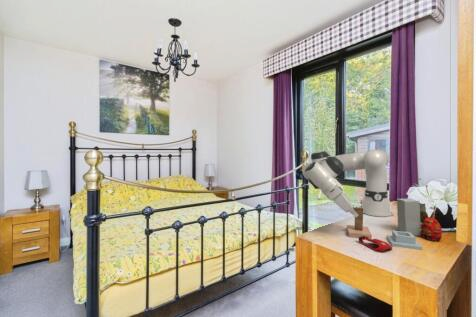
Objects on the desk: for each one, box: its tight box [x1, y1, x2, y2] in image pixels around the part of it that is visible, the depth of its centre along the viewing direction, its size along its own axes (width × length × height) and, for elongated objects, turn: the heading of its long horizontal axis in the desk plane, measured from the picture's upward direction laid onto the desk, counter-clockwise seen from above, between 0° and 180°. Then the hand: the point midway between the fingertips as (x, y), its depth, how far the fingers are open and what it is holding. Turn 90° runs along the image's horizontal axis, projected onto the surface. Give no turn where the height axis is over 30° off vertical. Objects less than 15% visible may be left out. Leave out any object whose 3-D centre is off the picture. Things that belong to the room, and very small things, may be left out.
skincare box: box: [396, 198, 422, 237], centre depth 113 cm, size 8×7×16 cm
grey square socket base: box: [386, 229, 423, 251], centre depth 100 cm, size 10×10×4 cm
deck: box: [346, 224, 373, 239], centre depth 111 cm, size 12×9×2 cm
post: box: [354, 206, 364, 231], centre depth 111 cm, size 3×3×10 cm
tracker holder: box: [356, 235, 393, 253], centre depth 96 cm, size 12×4×10 cm
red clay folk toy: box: [420, 204, 443, 242], centre depth 105 cm, size 8×7×15 cm
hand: (356, 213), depth 111 cm, fingers open, 8 cm apart
